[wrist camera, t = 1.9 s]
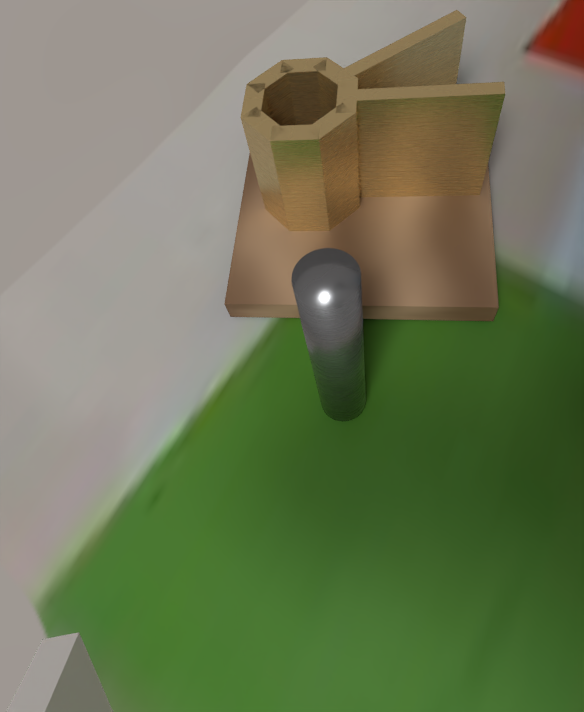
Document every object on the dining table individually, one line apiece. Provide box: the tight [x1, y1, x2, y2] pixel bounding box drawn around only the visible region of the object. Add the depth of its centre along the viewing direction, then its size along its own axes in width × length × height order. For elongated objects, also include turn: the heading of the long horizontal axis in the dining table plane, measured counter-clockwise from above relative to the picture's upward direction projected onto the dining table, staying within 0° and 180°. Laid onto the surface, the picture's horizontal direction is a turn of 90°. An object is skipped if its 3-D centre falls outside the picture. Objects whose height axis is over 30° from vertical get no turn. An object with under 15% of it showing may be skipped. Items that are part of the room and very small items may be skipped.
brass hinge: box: [241, 10, 505, 231], centre depth 31 cm, size 13×9×7 cm
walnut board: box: [225, 154, 499, 321], centre depth 34 cm, size 15×16×2 cm
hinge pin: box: [291, 248, 366, 421], centre depth 24 cm, size 2×2×12 cm
